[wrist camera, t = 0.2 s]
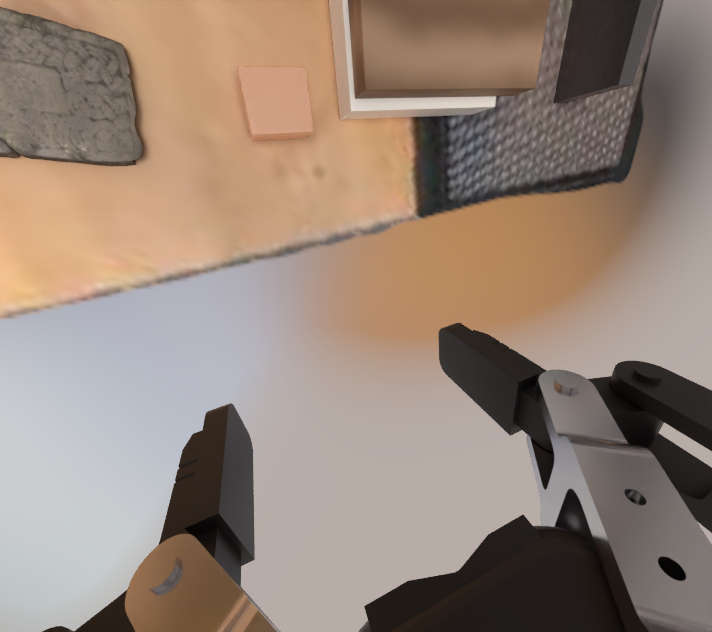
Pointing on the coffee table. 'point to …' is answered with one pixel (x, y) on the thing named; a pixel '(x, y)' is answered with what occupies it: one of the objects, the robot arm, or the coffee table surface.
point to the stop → (602, 46)
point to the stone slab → (64, 94)
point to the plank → (445, 47)
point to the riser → (385, 106)
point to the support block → (276, 102)
